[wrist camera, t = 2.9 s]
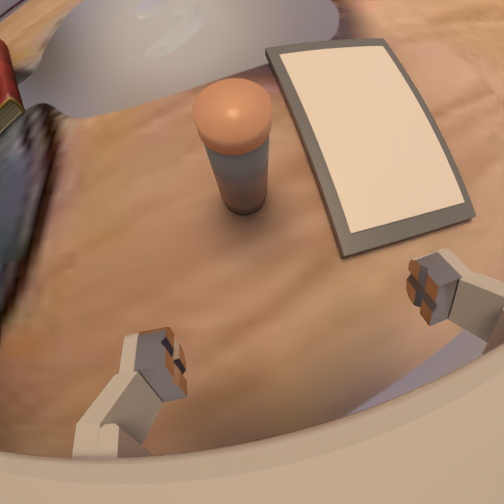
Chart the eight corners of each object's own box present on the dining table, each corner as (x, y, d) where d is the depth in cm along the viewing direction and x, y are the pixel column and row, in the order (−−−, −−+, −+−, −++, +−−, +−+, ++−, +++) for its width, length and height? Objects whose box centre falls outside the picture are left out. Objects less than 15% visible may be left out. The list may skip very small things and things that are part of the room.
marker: (227, 222, 26) (200, 149, 14) (216, 180, 26) (187, 89, 15) (273, 210, 26) (282, 129, 14) (261, 168, 26) (260, 72, 15)
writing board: (341, 258, 25) (344, 255, 24) (265, 54, 29) (265, 46, 28) (470, 219, 25) (477, 215, 24) (381, 44, 29) (384, 37, 28)
